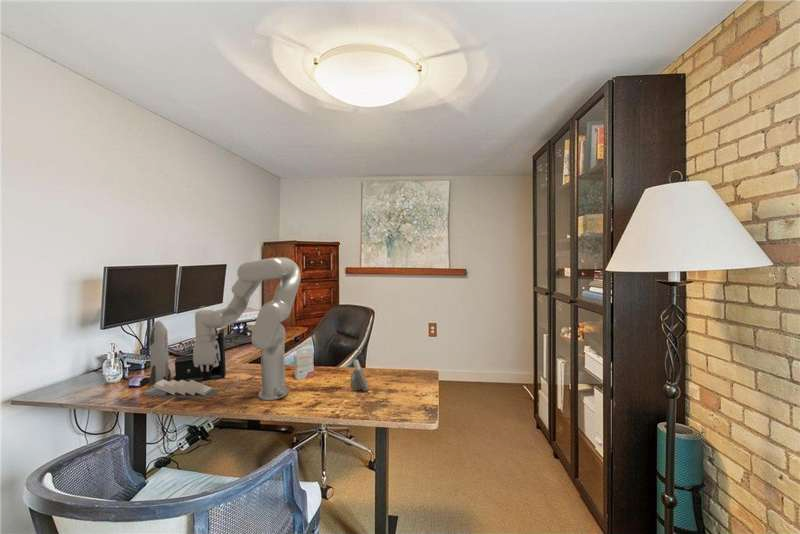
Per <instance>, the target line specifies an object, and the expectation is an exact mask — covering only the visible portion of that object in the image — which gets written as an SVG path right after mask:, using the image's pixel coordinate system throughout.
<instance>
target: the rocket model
mask: <svg viewBox="0 0 800 534" xmlns="http://www.w3.org/2000/svg"><path fill="white" fill-rule="evenodd" d="M168 338H169V336H168V329H167V327H165V325H164V323H163V322H162V321H160V320H157V321H155V322H154V323H153V325H152V328H151V329H150V330H149V351H150V352H149V355H150V356H149V357H150V375H149V379H148V386H149V387H152V386H154V385H155V383H157V382H159V381H161V380H163V379H164V380H166V381H168V382H169V381H171V376H172V375H171V369H170V367H169V366H170V364H169V339H168Z"/></svg>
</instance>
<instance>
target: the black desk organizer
mask: <svg viewBox="0 0 800 534" xmlns="http://www.w3.org/2000/svg"><path fill="white" fill-rule="evenodd" d="M215 335H216V336H218V338H217V339H215V340H217V341H218V345H219V350H220V361H219V362H218V363H219V366H217V367H213V369H212V370H211V379H209V380H208V381H209V382H210V381H215V380H222V379H225V378H226V375H227V374H226V373H227V369H226V368H227V367H226V346H225V328H222V329H221V328H220V330H219V333H216V332H215ZM174 369H175V370H174V372H175V373H174V374H175V376H174V377H173V379H172V380H175V381H178V382H179V381H181V380H184V381H187V382H189V381H191V380H193V381H196V382H198V383H201V382H204V381H203V377H202V372H201V369H200V368H199V367H195V366H194V363H193V354H188V355H180V356H179V355H178V356H177V357H176V358H175V360H174ZM208 381H207V382H208Z"/></svg>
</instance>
